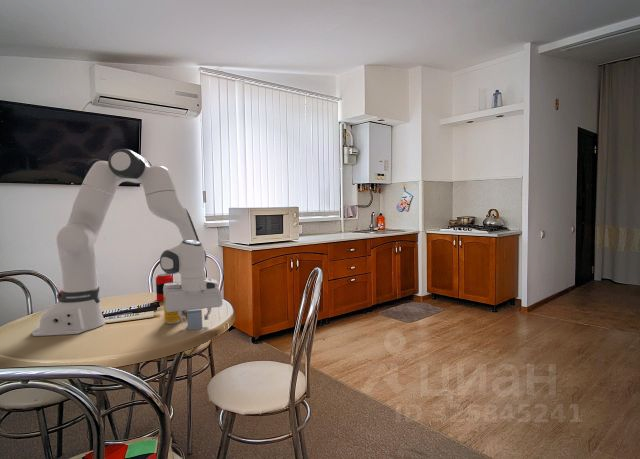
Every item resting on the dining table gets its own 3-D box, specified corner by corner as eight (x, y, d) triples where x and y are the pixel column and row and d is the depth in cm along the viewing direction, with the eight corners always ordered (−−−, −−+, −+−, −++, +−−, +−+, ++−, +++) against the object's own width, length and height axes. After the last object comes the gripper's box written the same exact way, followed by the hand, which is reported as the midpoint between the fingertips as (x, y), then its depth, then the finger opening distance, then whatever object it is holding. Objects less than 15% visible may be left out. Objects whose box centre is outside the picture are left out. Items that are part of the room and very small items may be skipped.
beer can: (166, 325, 142) (164, 286, 141) (163, 321, 147) (161, 283, 146) (183, 322, 145) (181, 284, 144) (179, 318, 150) (178, 281, 149)
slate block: (187, 329, 137) (187, 313, 137) (188, 325, 142) (187, 309, 141) (202, 328, 139) (201, 312, 138) (201, 324, 144) (201, 308, 143)
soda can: (176, 297, 183) (175, 273, 182) (168, 301, 175) (167, 276, 174) (162, 297, 184) (161, 273, 183) (153, 301, 176) (152, 276, 175)
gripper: (162, 288, 133) (164, 326, 134) (222, 283, 139) (223, 320, 141) (163, 284, 139) (165, 321, 140) (221, 280, 145) (222, 315, 147)
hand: (195, 320), depth 140 cm, fingers open, 7 cm apart
